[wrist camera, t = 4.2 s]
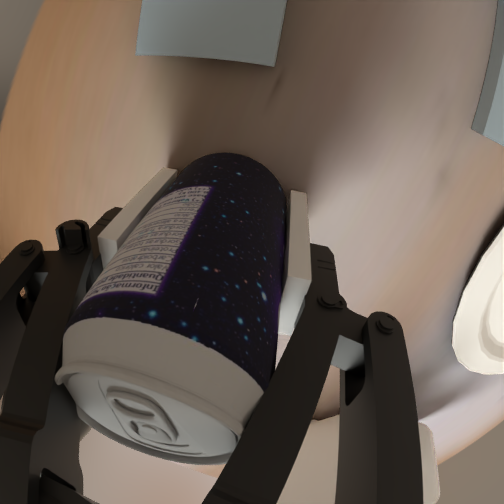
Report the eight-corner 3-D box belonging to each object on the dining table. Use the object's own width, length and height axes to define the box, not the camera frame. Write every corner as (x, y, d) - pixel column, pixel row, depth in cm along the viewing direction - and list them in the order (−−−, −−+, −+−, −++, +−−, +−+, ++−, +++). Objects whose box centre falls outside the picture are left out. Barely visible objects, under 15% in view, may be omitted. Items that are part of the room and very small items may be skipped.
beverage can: (186, 246, 18) (98, 444, 8) (170, 150, 15) (0, 333, 5) (287, 248, 17) (268, 477, 8) (286, 146, 14) (263, 384, 4)
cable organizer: (402, 384, 24) (417, 505, 15) (430, 417, 28) (442, 508, 18) (270, 427, 31) (259, 524, 21) (320, 452, 35) (316, 531, 25)
